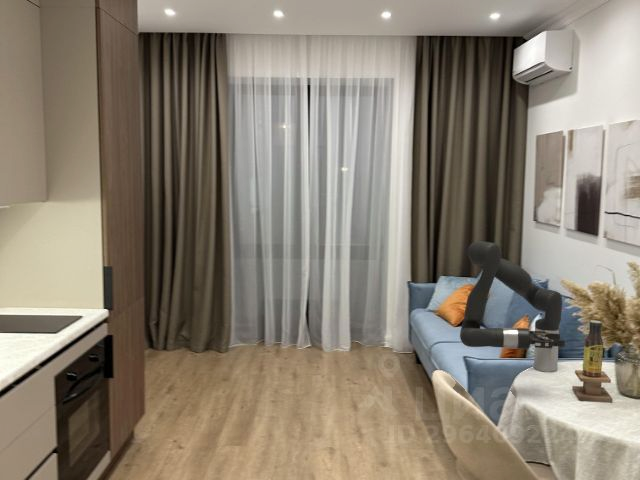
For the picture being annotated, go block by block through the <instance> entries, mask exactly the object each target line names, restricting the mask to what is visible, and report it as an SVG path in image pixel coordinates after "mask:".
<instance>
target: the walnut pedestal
mask: <svg viewBox="0 0 640 480" xmlns="http://www.w3.org/2000/svg"><path fill="white" fill-rule="evenodd" d="M574 375H576V377H577V378H578V380H579V381H580V382H582V386H579V385H572V388H571V389H572V391H573V393H574V395H575V397H576V398H577V400H578V402H595V403H597V402H598V403H609V404H610V403H613V397H612V396H611V395H610V393H609V392H608V391H607V390H606V388H605V387H602V383H604V384H605V383H606V384H611V383H612V380H611V378H610V376H608V374H606V372H605V371H603V370H601V375H600V376H598V377H591V376H586V375H584V374H583V369H575V370H574Z"/></svg>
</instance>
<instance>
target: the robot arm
mask: <svg viewBox="0 0 640 480" xmlns="http://www.w3.org/2000/svg"><path fill="white" fill-rule="evenodd" d="M467 257H468V258H469V261H470V262H471V263H472V264H474V265H475V266H477V267H479V268H481V269H482V271H481V274H480V276H479V279H478V281H477V282H476V283H475V285H474V286H473V288H472V289H471V290H470V292H469V293H468V296H467V299H466V304H465V309H464V314H463V316H464V317H463V320H462V325H461V328H460V332H459V339H460V341H461V343H462V344H463V345H464V346H466V347H468V348H483V347H484V348H485V347H491V348H506V349H517V350H518V349H519V350H529V349H530V348H531V345H534V348H533V349H534V351H533V352H534V353H533V354H534V355H533V368H534V369H535V370H537V371H540V372H544V373H545V372H546V373H547V372H548V373H552V372H553V373H554V372H556V371H558V367H559V366H558V361H559V348H560V347H565V344H566V343H565V342H566V341H565V340H564V339H561V335H560V334H559V333H560V331H559V330H560V329H559V328H560V323H561V321H562V311H563V296H562V294H561V293H560V292H558V291H556V290H552V289H547V288H542V287H540V286H538V285H536V284H534V283H533V280H532V277H531V274H530V273H529V272H528V271H526V270H525V269H524V268H522V267H521V266H520V265H518V264H516V263H514V262H511V261H510V260H508V259H504V258H503V257H502V249H501V246H500V245H499V244H497V243H495V242H488V241H475V242H472V243H471V244H470V245H469V246H468V248H467ZM495 279H496V280H497V281H500V283H502V284H503V285H504V286H505V287H506V288H509V289H510V290H511V291H513V292H515V293H516V294H518V296H520V297H522V298H523V299H524V300H525V301H526V302H527V303H528V304H529V305H530V306H532V308H534V309H535V310H537V311H539V312H544V313H545V314H544V318H539V319H536V320H535V322H534V330H530V329H529V328H525V327H524V328H522V327H521V328H519V327H504V328H502V327H500V328H499V327H491V328H490V327H489V328H481V326H482V321H483V319H484V315H485V310H486V307H487V301H488V297H489V294H490V289H491V288H492V285H493V282H494V280H495Z"/></svg>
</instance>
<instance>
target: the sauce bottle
mask: <svg viewBox="0 0 640 480" xmlns="http://www.w3.org/2000/svg"><path fill="white" fill-rule="evenodd" d="M602 324H603V322H602V321H601V322H600V320H593V319H592V320H590V321H589V324H588V325H589V331H588V334H587V336H586V337H585V339H584V345H583V349H584V350H583V359H582V360H583V361H582V370H583V374H584V375H586V376H591V377H598V376H600V375H601V371H602V369H603V368H602V367H603V358H604V357H603V353H604V342H603V338H602V335H601V334H602V331H601V330H602V326H603V325H602Z"/></svg>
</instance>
